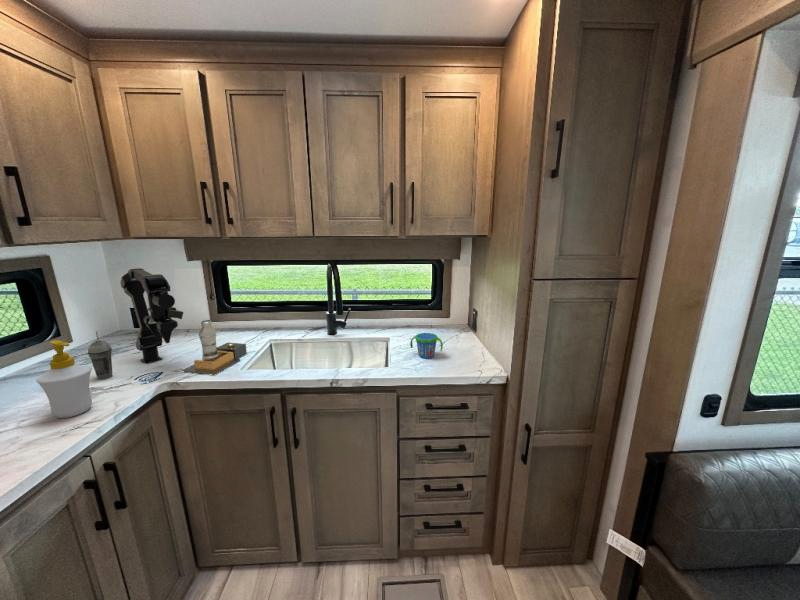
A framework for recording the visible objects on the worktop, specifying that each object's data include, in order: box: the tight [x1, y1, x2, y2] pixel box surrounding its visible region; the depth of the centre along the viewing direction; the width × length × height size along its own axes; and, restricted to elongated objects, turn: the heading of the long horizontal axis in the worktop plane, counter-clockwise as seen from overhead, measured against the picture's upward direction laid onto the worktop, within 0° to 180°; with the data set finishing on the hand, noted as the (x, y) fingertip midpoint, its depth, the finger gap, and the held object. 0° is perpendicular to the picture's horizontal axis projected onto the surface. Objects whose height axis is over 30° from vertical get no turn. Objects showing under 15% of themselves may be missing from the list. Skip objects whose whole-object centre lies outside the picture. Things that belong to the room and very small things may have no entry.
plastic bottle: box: [198, 319, 220, 361], centre depth 143 cm, size 6×7×20 cm
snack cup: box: [409, 332, 444, 359], centre depth 157 cm, size 16×10×10 cm
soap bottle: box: [35, 339, 93, 419], centre depth 106 cm, size 13×13×25 cm
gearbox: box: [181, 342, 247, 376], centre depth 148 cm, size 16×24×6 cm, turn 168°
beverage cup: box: [87, 330, 113, 381], centre depth 132 cm, size 7×7×20 cm
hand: (163, 341), depth 139 cm, fingers open, 9 cm apart
